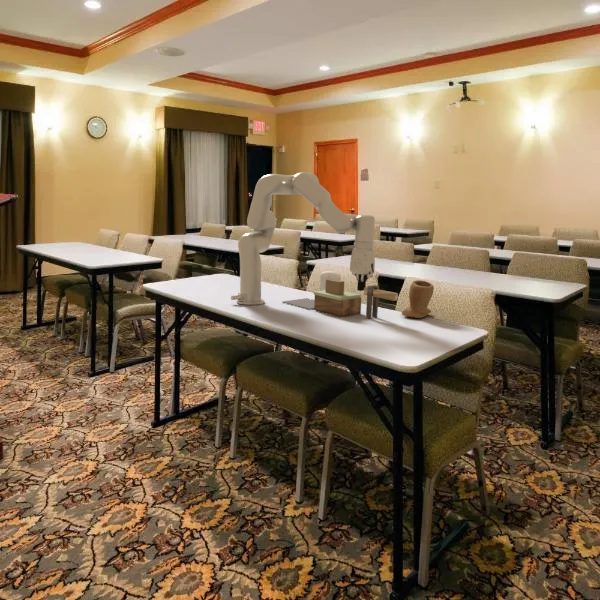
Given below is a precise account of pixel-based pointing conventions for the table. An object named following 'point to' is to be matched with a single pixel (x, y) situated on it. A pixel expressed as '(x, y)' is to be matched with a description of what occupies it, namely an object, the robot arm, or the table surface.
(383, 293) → the tan wooden bar
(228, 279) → the table surface
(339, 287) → the lid
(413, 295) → the stone cup
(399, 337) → the table surface
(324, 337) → the table surface
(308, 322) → the table surface
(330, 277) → the photo printer
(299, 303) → the mat
